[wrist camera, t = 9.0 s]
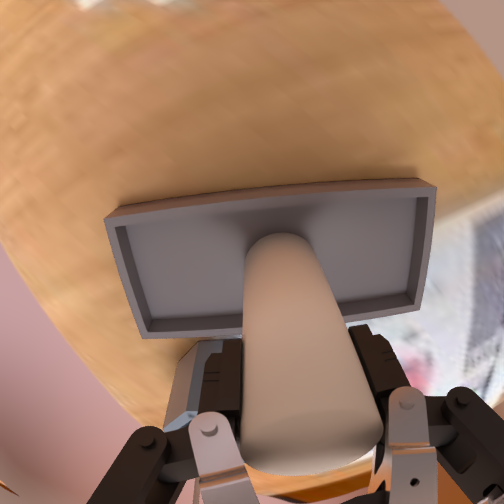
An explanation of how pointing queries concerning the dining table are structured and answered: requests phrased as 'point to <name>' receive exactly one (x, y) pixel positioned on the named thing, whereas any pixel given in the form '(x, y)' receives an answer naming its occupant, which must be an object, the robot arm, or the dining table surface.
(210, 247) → the tray
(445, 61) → the dining table surface
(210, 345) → the grey octagonal collar
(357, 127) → the dining table surface
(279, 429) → the peg
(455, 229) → the dining table surface
